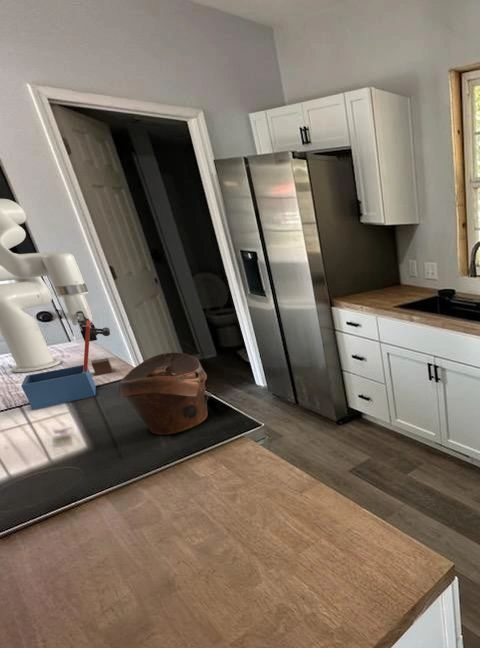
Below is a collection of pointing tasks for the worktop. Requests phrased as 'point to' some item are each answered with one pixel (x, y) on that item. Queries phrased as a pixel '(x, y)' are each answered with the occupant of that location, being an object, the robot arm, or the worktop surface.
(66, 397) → the storage box
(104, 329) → the box lid
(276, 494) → the worktop surface
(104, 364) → the walnut block
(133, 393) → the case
